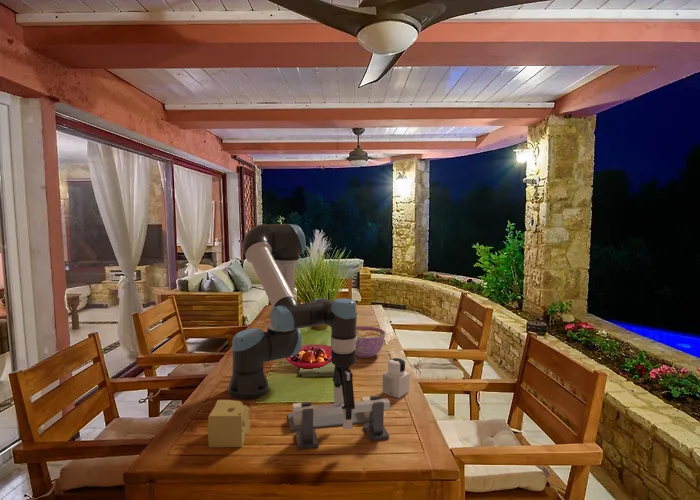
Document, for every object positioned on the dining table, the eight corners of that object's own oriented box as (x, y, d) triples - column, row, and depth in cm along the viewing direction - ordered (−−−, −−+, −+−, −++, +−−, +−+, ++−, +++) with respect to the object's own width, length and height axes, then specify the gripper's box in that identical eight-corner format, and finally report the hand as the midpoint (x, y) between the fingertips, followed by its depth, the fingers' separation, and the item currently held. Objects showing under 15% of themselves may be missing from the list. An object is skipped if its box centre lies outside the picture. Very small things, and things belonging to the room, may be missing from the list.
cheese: (250, 429, 126) (250, 399, 125) (242, 449, 115) (242, 416, 115) (217, 429, 126) (217, 399, 125) (206, 449, 115) (205, 416, 114)
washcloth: (300, 366, 179) (300, 359, 179) (339, 366, 180) (339, 359, 180) (298, 378, 166) (298, 370, 166) (340, 378, 167) (340, 370, 167)
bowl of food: (390, 351, 199) (391, 329, 198) (376, 365, 181) (377, 340, 180) (354, 345, 208) (354, 324, 207) (337, 357, 190) (337, 334, 189)
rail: (294, 419, 117) (294, 411, 117) (293, 414, 120) (293, 407, 119) (389, 409, 124) (390, 401, 124) (387, 405, 126) (387, 398, 126)
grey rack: (298, 449, 116) (298, 413, 115) (295, 434, 123) (295, 400, 122) (389, 438, 122) (390, 404, 121) (381, 425, 130) (382, 393, 129)
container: (392, 386, 159) (393, 355, 158) (409, 391, 155) (410, 359, 153) (381, 392, 153) (382, 360, 152) (398, 398, 149) (399, 365, 147)
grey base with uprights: (290, 430, 125) (290, 415, 125) (287, 415, 135) (287, 401, 135) (383, 420, 132) (383, 406, 132) (374, 406, 142) (374, 393, 142)
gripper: (366, 364, 109) (365, 437, 111) (346, 337, 133) (345, 397, 135) (339, 366, 107) (338, 440, 109) (324, 338, 131) (324, 399, 133)
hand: (342, 417), depth 122 cm, fingers open, 13 cm apart
